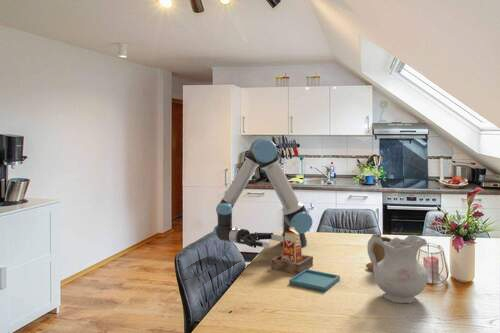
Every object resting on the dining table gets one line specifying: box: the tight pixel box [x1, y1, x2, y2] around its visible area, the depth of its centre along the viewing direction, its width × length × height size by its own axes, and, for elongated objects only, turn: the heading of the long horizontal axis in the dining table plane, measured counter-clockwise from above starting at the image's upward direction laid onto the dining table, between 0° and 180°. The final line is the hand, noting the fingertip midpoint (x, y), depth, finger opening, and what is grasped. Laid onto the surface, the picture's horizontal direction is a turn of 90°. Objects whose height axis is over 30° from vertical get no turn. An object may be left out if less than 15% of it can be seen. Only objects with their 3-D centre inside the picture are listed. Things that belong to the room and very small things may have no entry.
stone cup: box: [365, 236, 393, 271], centre depth 188 cm, size 15×12×15 cm
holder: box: [270, 253, 314, 275], centre depth 192 cm, size 14×14×4 cm
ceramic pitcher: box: [367, 233, 429, 304], centre depth 155 cm, size 22×20×25 cm
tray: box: [288, 268, 341, 293], centre depth 173 cm, size 16×16×2 cm
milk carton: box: [281, 227, 303, 263], centre depth 191 cm, size 9×9×20 cm
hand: (276, 241), depth 196 cm, fingers open, 13 cm apart
